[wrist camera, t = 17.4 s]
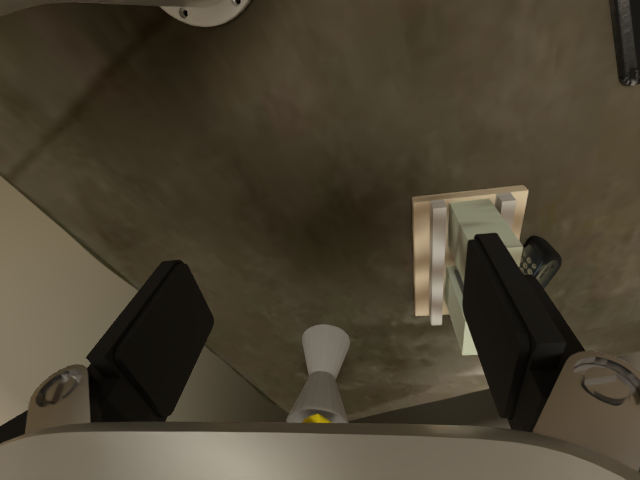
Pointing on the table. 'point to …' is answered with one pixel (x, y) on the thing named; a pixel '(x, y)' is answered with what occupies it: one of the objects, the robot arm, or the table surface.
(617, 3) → the phone
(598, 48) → the table surface
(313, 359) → the lava lamp
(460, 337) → the pale green tall block
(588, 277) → the table surface
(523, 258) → the mobile phone
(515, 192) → the rail board
